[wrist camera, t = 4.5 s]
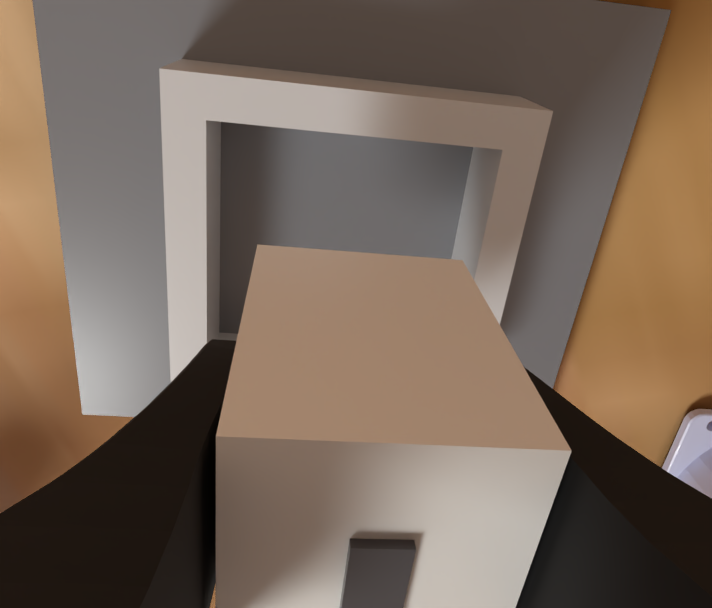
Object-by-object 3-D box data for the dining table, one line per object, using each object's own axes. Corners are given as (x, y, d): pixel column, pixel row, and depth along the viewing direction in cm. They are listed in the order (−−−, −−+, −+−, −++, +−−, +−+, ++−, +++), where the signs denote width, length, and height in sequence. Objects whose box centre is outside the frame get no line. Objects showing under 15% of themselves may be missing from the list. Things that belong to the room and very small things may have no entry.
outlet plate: (651, 9, 16) (732, 11, 13) (529, 418, 22) (564, 484, 19) (41, -70, 14) (-33, -91, 11) (92, 396, 21) (53, 466, 18)
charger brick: (462, 259, 12) (575, 459, 7) (421, 455, 14) (484, 713, 9) (257, 244, 11) (213, 445, 6) (250, 448, 13) (214, 716, 8)
